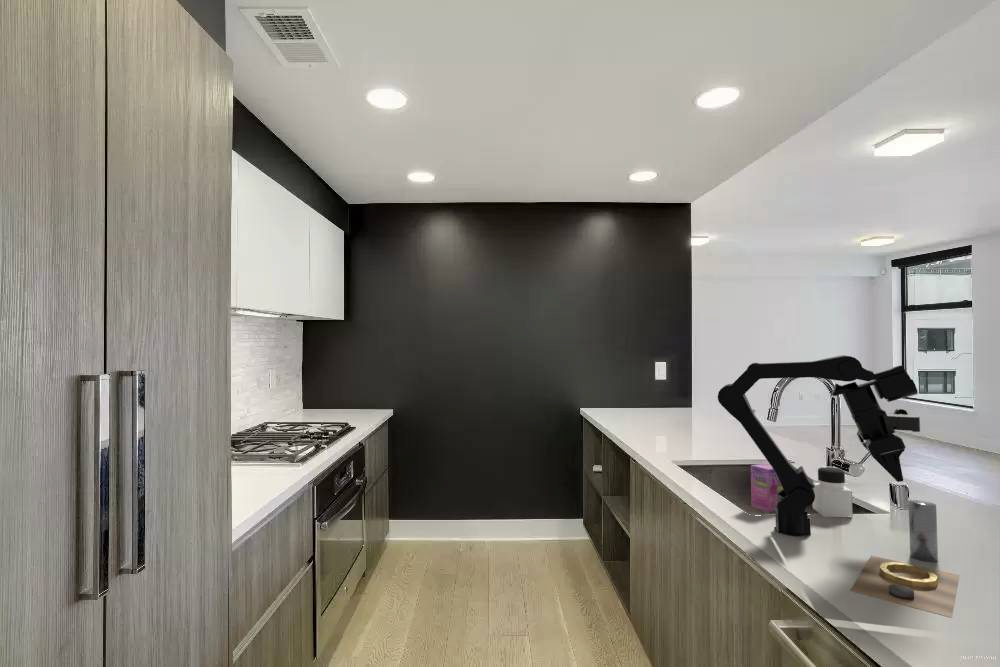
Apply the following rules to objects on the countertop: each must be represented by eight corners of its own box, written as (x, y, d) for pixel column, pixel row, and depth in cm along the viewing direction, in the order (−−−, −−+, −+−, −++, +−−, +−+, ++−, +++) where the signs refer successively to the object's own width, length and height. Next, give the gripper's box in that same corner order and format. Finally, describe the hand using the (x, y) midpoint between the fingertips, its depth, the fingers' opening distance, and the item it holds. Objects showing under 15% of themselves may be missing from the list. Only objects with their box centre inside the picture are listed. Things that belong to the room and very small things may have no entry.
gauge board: (951, 622, 85) (951, 611, 85) (850, 594, 95) (849, 584, 95) (959, 579, 100) (959, 569, 100) (871, 559, 110) (870, 550, 110)
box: (769, 513, 140) (768, 468, 140) (750, 507, 145) (749, 464, 146) (794, 506, 145) (792, 464, 145) (774, 501, 150) (773, 460, 150)
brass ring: (891, 585, 97) (891, 578, 97) (873, 566, 105) (873, 560, 105) (946, 591, 94) (946, 584, 94) (923, 571, 102) (923, 564, 102)
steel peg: (916, 564, 107) (914, 505, 107) (906, 556, 111) (904, 499, 112) (942, 567, 106) (940, 507, 106) (931, 558, 110) (929, 500, 110)
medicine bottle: (853, 518, 135) (852, 471, 135) (822, 517, 136) (821, 470, 137) (841, 509, 142) (839, 465, 142) (812, 508, 143) (811, 464, 144)
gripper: (916, 401, 106) (952, 477, 103) (897, 393, 122) (928, 458, 120) (854, 418, 111) (888, 490, 108) (844, 407, 127) (873, 470, 124)
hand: (896, 476), depth 115 cm, fingers open, 9 cm apart
